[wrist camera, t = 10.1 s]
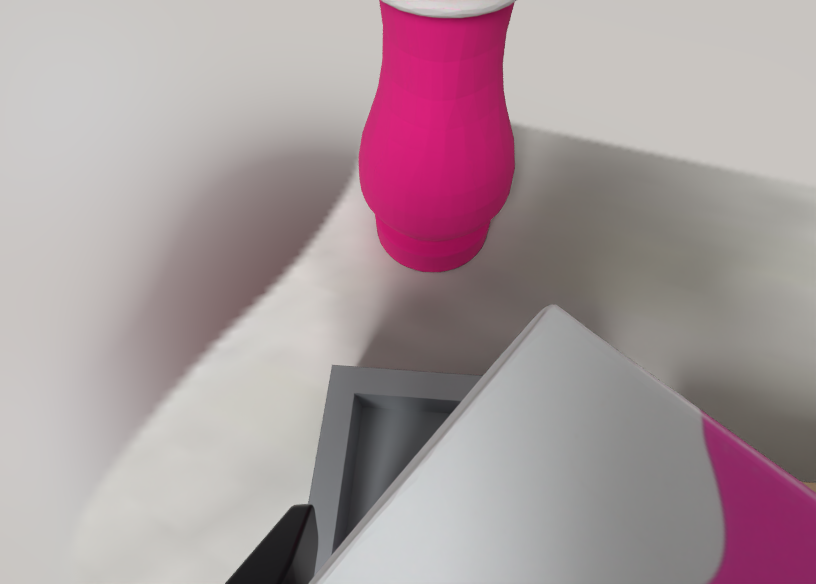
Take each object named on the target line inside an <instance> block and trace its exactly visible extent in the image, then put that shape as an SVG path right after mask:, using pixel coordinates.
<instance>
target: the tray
mask: <svg viewBox="0 0 816 584" xmlns="http://www.w3.org/2000/svg"><path fill="white" fill-rule="evenodd" d="M482 377H483V376H480V375H466V374H452V373H438V372H424V371H410V370H396V369H382V368H368V367H354V366H340V365H332V369H331V375H330V381H329V386H328V392H327V398H326V404H325V409H324V415H323V421H322V427H321V432H320V438H319V444H318V450H317V456H316V461H315V467H314V473H313V479H312V484H311V490H310V496H309V502H308V504H312V505H313V506H314V508H315V514H316V522H317V529H318V552H317V559H316V566H315V573H314V576H315V575H316V574H317V572H318V571H319V570H320V569H321V568H322V566H323V565H324V564H325V563H326V562H327V560H328V559H329V558H330V557H331V555H332V554H333V553H334V552H335V551H336V549H337V548H338V547H339V546H340V545H341V543H342V542H343V541H344V540H345V539H346V538H347V536H348V535H349V534H350V533H351V532H352V530H353V529H354V528H355V527H356V526H357V524H358V523H359V522H360V521H361V520H362V518H363V517H364V516H365V515H366V514H367V512H368V511H369V510H370V509H371V508H372V507H373V505H374V504H375V503H376V502H377V501H378V499H379V498H380V497H381V496H382V495H383V493H384V492H385V491H386V490H387V489H388V487H389V486H390V485H391V484H392V483H393V482H394V480H395V479H396V478H397V477H398V476H399V474H400V473H401V472H402V471H403V470H404V469H405V467H406V466H407V465H408V464H409V463H410V462H411V460H412V459H413V458H414V457H415V456H416V454H417V453H418V452H419V451H420V450H421V449H422V447H423V446H424V445H425V444H426V443H427V442H428V440H429V439H430V438H431V437H432V436H433V435H434V433H435V432H436V431H437V430H438V429H439V428H440V426H441V425H442V424H443V423H444V422H445V420H446V419H447V418H448V417H449V416H450V414H451V413H452V412H453V411H454V410H455V409H456V407H457V406H458V405H459V404H460V403H461V401H462V400H463V399H464V398H465V397H466V396H467V394H468V393H469V392H470V391H471V390H472V388H473V387H474V386H475V385H476V384H477V382H478V381H479V380H480V379H481V378H482Z"/></svg>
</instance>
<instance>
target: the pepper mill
mask: <svg viewBox="0 0 816 584" xmlns="http://www.w3.org/2000/svg"><path fill="white" fill-rule="evenodd" d="M379 1H380V7H381V15H382V22H383V59H382V66H381V73H380V79H379V85H378V89H377V92H376V95H375V98H374V101H373V104H372V107H371V110H370V113H369V116H368V119H367V121H366V124H365V127H364V130H363V133H362V139H361V145H360V151H359V177H360V184H361V190H362V193H363V195H364V198H365V200H366V202H367V204H368V206H369V207H370V209H371V210H372V211H373V212H374V213H375V217H376V225H377V232H378V236H379V239H380V242H381V244H382V246H383V247H384V249H385V250H386V252H387V253H388V254H389V255H390V256H391V257H392V258H393V259H394V260H396V261H397V262H399V263H400V264H402V265H404V266H406V267H409V268H412V269H415V270H418V271H422V272H442V271H447V270H452V269H455V268H457V267H460V266H462V265H464V264H465V263H467V262H468V261H470V260H471V259H472V258H473V257H474V256H476V254H477V253H478V252H479V250H480V249H481V248H482V246H483V244H484V241H485V239H486V235H487V232H488V228H489V224H490V221H491V219H492V218H493V217H495V216H496V215H497V214H498V213H499V211H500V210H501V208H502V207H503V205H504V203H505V201H506V199H507V197H508V195H509V192H510V188H511V183H512V178H513V173H514V169H515V161H514V138H513V133H512V129H511V125H510V120H509V116H508V112H507V107H506V103H505V96H504V91H503V90H504V88H503V56H504V48H505V39H506V32H507V28H508V25H509V21H510V17H511V13H512V10H513V6H514V2H515V1H516V0H379Z"/></svg>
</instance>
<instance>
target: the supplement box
mask: <svg viewBox="0 0 816 584" xmlns="http://www.w3.org/2000/svg"><path fill="white" fill-rule="evenodd" d="M308 584H816V492H814V491H813V490H812V489H810V488H809V487H808V486H806V485H805V484H803V483H802V482H801V481H799V480H798V479H797V478H795V477H794V476H792V475H791V474H789V473H788V472H787V471H785V470H784V469H782V468H781V467H779V466H778V465H777V464H775V463H774V462H772V461H771V460H769V459H768V458H767V457H765V456H764V455H762V454H761V453H760V452H758V451H757V450H756V449H754V448H753V447H751V446H750V445H749V444H747V443H746V442H745V441H743V440H742V439H741V438H739V437H738V436H736V435H735V434H734V433H732V432H731V431H730V430H728V429H727V428H725V427H724V426H723V425H721V424H720V423H719V422H717V421H716V420H714V419H713V418H712V417H710V416H709V415H708V414H706V413H705V412H703V411H702V410H701V409H699V408H698V407H696V406H695V405H694V404H692V403H691V402H690V401H688V400H687V399H686V398H684V397H683V396H682V395H680V394H679V393H678V392H676V391H675V390H673V389H672V388H670V387H668V386H667V385H666V384H664V383H663V382H661V381H660V380H659V379H657V378H656V377H654V376H653V375H652V374H650V373H649V372H647V371H646V370H645V369H643V368H642V367H641V366H639V365H638V364H636V363H635V362H633V361H632V360H630V359H629V358H628V357H626V356H625V355H623V354H622V353H620V352H619V351H618V350H616V349H615V348H614V347H612V346H611V345H610V344H609V343H607V342H606V341H605V340H603V339H602V338H600V337H599V336H598V335H596V334H595V333H593V332H592V331H591V330H589V329H588V328H587V327H585V326H584V325H583V324H581V323H580V322H579V321H577V320H576V319H575V318H574V317H572V316H571V315H570V314H568V313H567V312H566V311H564V310H563V309H562V308H560V307H559V306H558V305H557V304H553V305H548V306H546V307H545V308H544V309H542V310H541V311H540V312H539V313H538V314H537V315H536V316H535V317H534V318H533V319H532V320H531V322H530V323H529V324H528V325H527V326H526V327H525V328H524V329H523V330H522V332H521V333H520V334H519V335H518V336H517V337H516V338H515V340H514V341H513V342H512V343H511V344H510V345H509V346H508V348H507V349H506V350H505V351H504V352H503V353H502V354H501V355H500V357H499V358H498V359H497V360H496V361H495V362H494V364H493V365H492V366H491V367H490V368H489V369H488V371H487V372H486V373H485V374H484V375H483V377H482V378H481V379H480V380H479V381H478V382H477V384H476V385H475V386H474V387H473V388H472V390H471V391H470V392H469V393H468V394H467V396H466V397H465V398H464V399H463V400H462V401H461V403H460V404H459V405H458V406H457V407H456V409H455V410H454V411H453V412H452V413H451V414H450V416H449V417H448V418H447V419H446V420H445V422H444V423H443V424H442V425H441V426H440V428H439V429H438V430H437V431H436V432H435V433H434V435H433V436H432V437H431V438H430V439H429V440H428V442H427V443H426V444H425V445H424V446H423V447H422V449H421V450H420V451H419V452H418V453H417V454H416V456H415V457H414V458H413V459H412V460H411V462H410V463H409V464H408V465H407V466H406V467H405V469H404V470H403V471H402V472H401V473H400V474H399V476H398V477H397V478H396V479H395V480H394V482H393V483H392V484H391V485H390V486H389V487H388V489H387V490H386V491H385V492H384V493H383V495H382V496H381V497H380V498H379V499H378V501H377V502H376V503H375V504H374V505H373V507H372V508H371V509H370V510H369V511H368V512H367V514H366V515H365V516H364V517H363V518H362V520H361V521H360V522H359V523H358V524H357V526H356V527H355V528H354V529H353V530H352V532H351V533H350V534H349V535H348V536H347V538H346V539H345V540H344V541H343V542H342V543H341V545H340V546H339V547H338V548H337V549H336V551H335V552H334V553H333V554H332V555H331V557H330V558H329V559H328V560H327V562H326V563H325V564H324V565H323V566H322V568H321V569H320V570H319V571H318V572H317V574H316V575H315V576H314V577H313V579H312V580H311V581H310V582H309V583H308Z"/></svg>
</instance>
